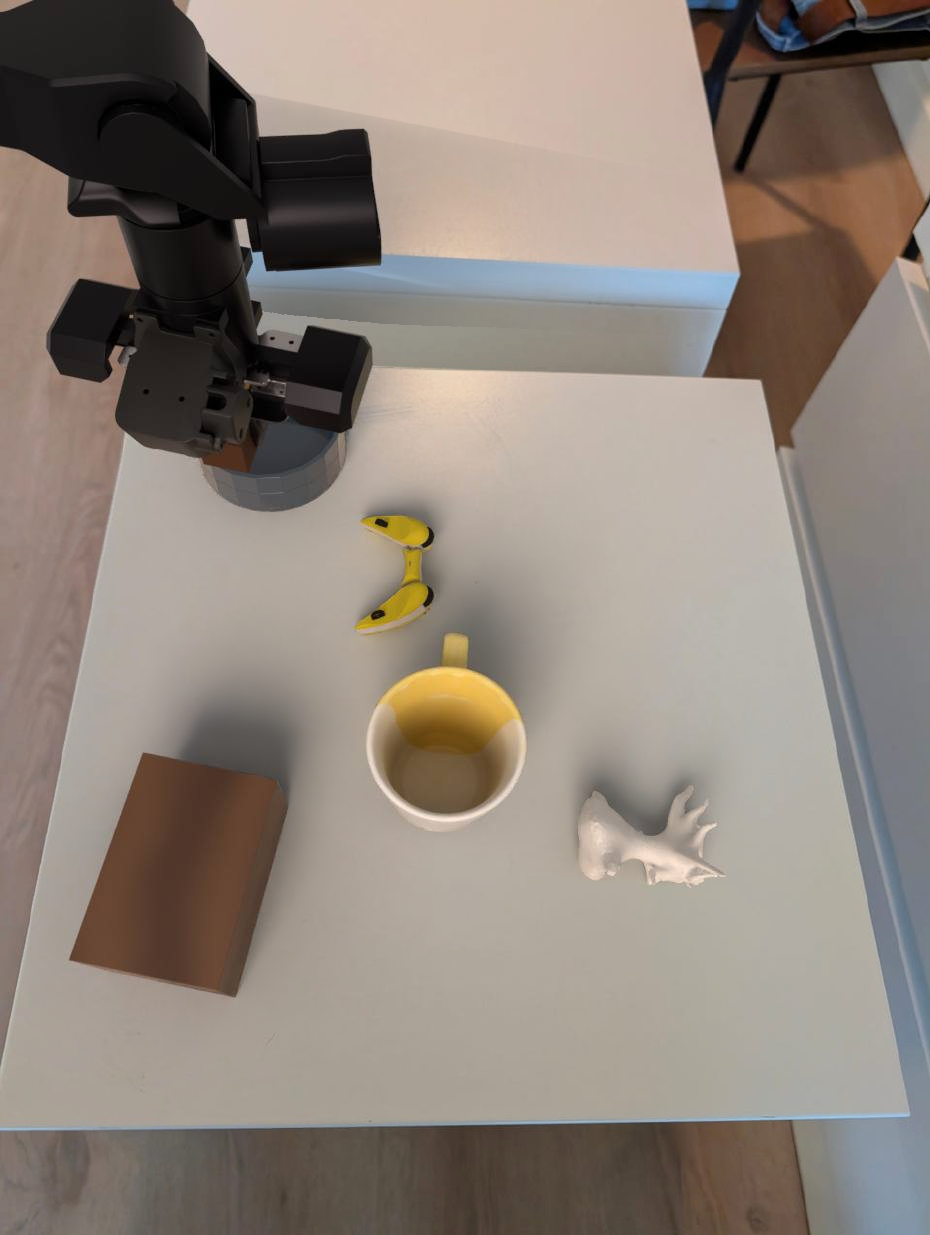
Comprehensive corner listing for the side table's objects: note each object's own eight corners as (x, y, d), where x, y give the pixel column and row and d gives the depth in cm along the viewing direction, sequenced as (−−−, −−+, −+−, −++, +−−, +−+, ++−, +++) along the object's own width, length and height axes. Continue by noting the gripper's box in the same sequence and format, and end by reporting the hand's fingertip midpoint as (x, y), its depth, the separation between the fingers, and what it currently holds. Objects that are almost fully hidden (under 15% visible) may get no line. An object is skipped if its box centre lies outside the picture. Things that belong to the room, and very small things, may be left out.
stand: (102, 969, 60) (68, 960, 54) (166, 780, 66) (142, 752, 60) (235, 997, 60) (216, 991, 54) (288, 805, 66) (277, 779, 59)
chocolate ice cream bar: (203, 464, 63) (194, 438, 60) (242, 368, 67) (235, 339, 64) (248, 474, 63) (241, 448, 60) (284, 377, 66) (279, 348, 64)
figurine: (560, 771, 67) (693, 746, 66) (579, 851, 70) (705, 829, 69) (573, 860, 58) (727, 833, 57) (594, 948, 61) (740, 924, 60)
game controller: (442, 632, 71) (427, 613, 68) (367, 642, 73) (349, 625, 70) (443, 522, 76) (428, 500, 73) (372, 535, 77) (355, 514, 74)
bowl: (179, 495, 76) (166, 460, 72) (224, 381, 81) (214, 341, 77) (325, 524, 76) (320, 491, 71) (360, 408, 81) (358, 370, 77)
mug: (487, 872, 65) (503, 842, 55) (350, 829, 65) (343, 792, 56) (535, 699, 71) (557, 644, 61) (409, 661, 71) (411, 601, 62)
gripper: (-44, 338, 46) (59, 505, 60) (316, 414, 46) (335, 564, 60) (44, 188, 51) (121, 375, 65) (371, 255, 50) (377, 429, 64)
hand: (235, 436), depth 63 cm, fingers closed on chocolate ice cream bar, 3 cm apart
